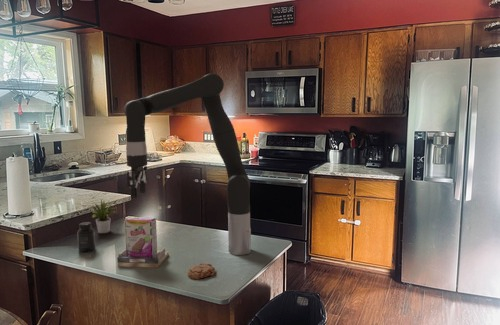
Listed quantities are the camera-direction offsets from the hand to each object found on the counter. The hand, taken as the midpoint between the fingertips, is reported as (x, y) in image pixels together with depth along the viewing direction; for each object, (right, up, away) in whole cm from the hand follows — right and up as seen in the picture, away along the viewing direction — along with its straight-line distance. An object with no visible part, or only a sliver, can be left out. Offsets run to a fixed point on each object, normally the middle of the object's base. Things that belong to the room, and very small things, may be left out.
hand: (138, 195), depth 147 cm
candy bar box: (0, -26, +4) cm, 26 cm away
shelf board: (0, -27, +6) cm, 27 cm away
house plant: (-30, -22, +42) cm, 56 cm away
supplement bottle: (-28, -26, +17) cm, 41 cm away
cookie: (+25, -29, -7) cm, 39 cm away
